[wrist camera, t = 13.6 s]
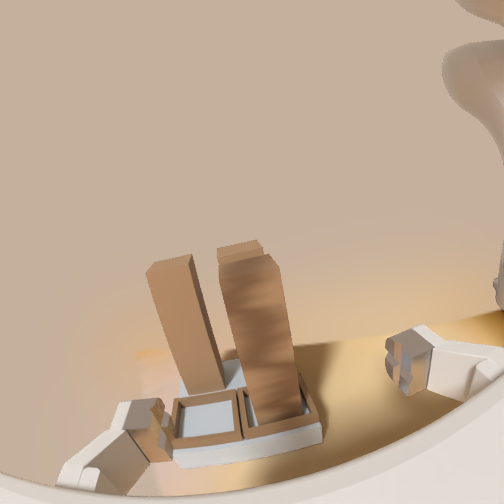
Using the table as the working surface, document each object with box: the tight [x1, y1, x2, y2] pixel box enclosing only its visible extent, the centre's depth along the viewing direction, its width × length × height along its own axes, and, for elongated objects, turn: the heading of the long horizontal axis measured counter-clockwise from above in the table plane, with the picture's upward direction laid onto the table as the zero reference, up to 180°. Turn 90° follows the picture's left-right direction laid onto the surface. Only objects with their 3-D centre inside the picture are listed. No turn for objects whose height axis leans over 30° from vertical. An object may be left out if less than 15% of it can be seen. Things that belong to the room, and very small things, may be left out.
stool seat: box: [146, 240, 323, 469], centre depth 26 cm, size 13×14×16 cm
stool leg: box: [219, 254, 303, 426], centre depth 23 cm, size 4×4×14 cm
